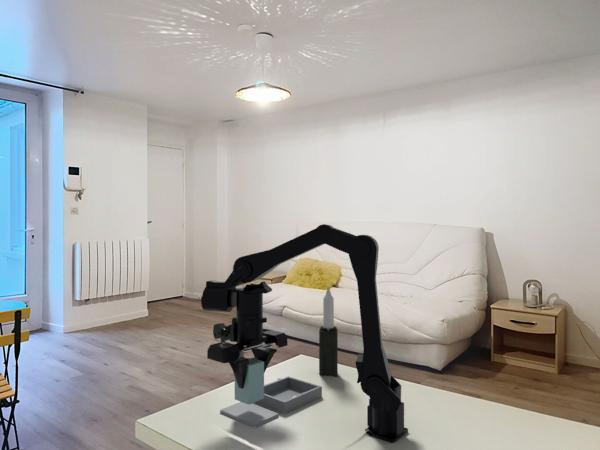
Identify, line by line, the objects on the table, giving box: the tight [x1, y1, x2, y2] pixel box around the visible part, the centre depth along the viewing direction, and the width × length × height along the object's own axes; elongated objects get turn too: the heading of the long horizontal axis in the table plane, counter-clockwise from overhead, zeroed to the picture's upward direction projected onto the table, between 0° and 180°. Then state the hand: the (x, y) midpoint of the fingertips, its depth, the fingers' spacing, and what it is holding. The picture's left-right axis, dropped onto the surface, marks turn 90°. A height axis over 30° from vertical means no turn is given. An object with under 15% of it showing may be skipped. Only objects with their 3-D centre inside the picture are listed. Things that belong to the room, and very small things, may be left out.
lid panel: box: [219, 401, 279, 429], centre depth 92 cm, size 11×7×1 cm, turn 49°
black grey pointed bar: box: [318, 285, 339, 378], centre depth 120 cm, size 5×5×25 cm
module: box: [234, 355, 265, 405], centre depth 93 cm, size 4×4×9 cm
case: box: [255, 376, 323, 414], centre depth 102 cm, size 12×13×3 cm
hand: (249, 385), depth 92 cm, fingers closed on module, 4 cm apart
